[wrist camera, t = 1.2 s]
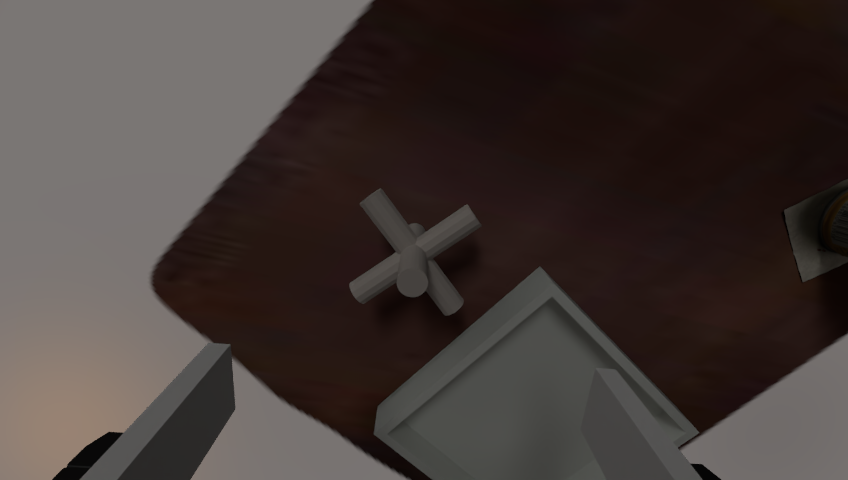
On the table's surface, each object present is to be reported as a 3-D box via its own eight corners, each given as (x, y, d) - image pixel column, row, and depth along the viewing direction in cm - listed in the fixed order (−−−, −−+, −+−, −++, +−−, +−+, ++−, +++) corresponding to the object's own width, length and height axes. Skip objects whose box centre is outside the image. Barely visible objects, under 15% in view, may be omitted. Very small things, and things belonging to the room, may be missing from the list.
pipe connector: (498, 248, 32) (530, 301, 23) (401, 310, 34) (393, 384, 25) (430, 147, 30) (434, 160, 20) (328, 219, 32) (289, 262, 22)
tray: (539, 266, 33) (553, 282, 30) (674, 404, 37) (699, 432, 34) (377, 405, 37) (373, 434, 34) (515, 515, 41) (524, 550, 38)
